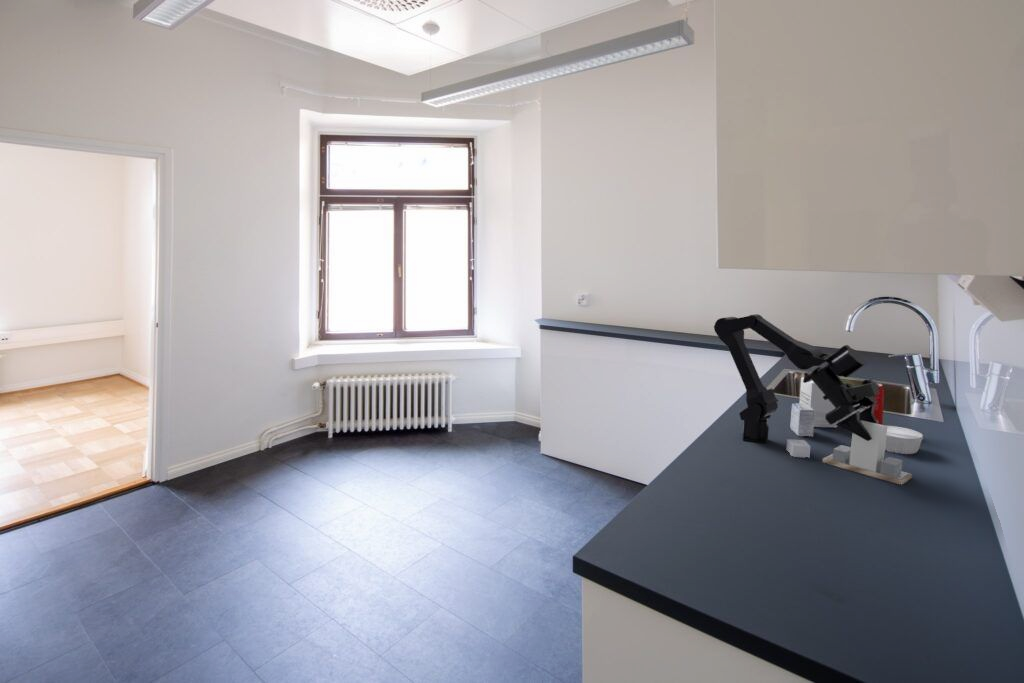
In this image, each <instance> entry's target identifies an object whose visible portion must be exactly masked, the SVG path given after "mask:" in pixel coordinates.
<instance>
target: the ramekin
mask: <svg viewBox="0 0 1024 683" xmlns="http://www.w3.org/2000/svg"><path fill="white" fill-rule="evenodd" d="M887 426H888V427H887V436H886V444H885V451H886V450H887V452H890V453H894V452H895V454H899V453H900V454H901V455H913V454H916V453H917V452H918V451H919V449H920V446H921V444H922V440H924V435H923V433H921V432H919V431H916V430H914V429H910V428H907V427H901V426H896V425H887Z"/></svg>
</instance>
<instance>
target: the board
mask: <svg viewBox="0 0 1024 683" xmlns="http://www.w3.org/2000/svg"><path fill="white" fill-rule="evenodd" d="M831 455H833V453H831V454H830V455H827V456H825V457H823V458H822V463H824V464H826V463H827V465H831V466H834V467H838V468H840V469H844V470H848V471H852V472H855V473H859V474H862V475H864V476H869V477H872V478H876V479H879V480H883V481H886V482H890V483H893V484H898V485H900V484H901V485H900V486H903V485H904V484H905V483H907V482H908V481H909V480H911V479H912V478H913V474H912V473H909V472H908V473H909V474H908V475H907V476H905V477H904V478H903V479H901V480H899V479H895V478H892V477H888V476H885V475H881V474H877V473H874V472H870V471H867V470H863V469H860V468H856V467H852V466H849V465H845V464H842V463H838V462H835V461H831V460H827V459H826V458H827V457H829V456H831ZM902 484H903V485H902Z"/></svg>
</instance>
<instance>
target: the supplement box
mask: <svg viewBox="0 0 1024 683" xmlns="http://www.w3.org/2000/svg"><path fill="white" fill-rule="evenodd" d="M803 380H804V376H802V377H801V378H800V381H801V382H800V394H799V403H801V404H807V405H808V406H810V407H811V408H812V409H814V410H815V418H814V428H833V429H835V428H836V429H837V428H838V426H837V425H836V424H837V423H839V420H838V421H836V423H834V424H832V425H830V424H829V423H828V422H827V420H826V419H825V418H826V414H827V413H829V412H830V411H832V410H834V409H835V407H834V406H833V405H832V403H831V402H830V401H829V400H828V399H827V400H824V398H823V397H824V396H825V395H824V394H823V393H822V391H821V390H820V389H819V388H818V387H817V385H816V384H815V383H814V382H813V381H810V382H806V383H804V382H803Z"/></svg>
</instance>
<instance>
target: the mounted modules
mask: <svg viewBox="0 0 1024 683" xmlns="http://www.w3.org/2000/svg"><path fill="white" fill-rule="evenodd" d="M850 451H851V446H847V445H843V444H840V445H837V447H834V448H833V451H832V454H833V459H832V460H836V461H840V462H843V463H846V462H847V461H849V460H850ZM903 461H904V460H903V459H898V458H895V457H890V456H888V457H886V458H885V459H884V460H883V461H881V469H880V473H883V474H886V475H890V476H893V477H894V476H896V475H897V474H899V473H900V472H901V471H903V470H902V469H903V468H902V467H903Z"/></svg>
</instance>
